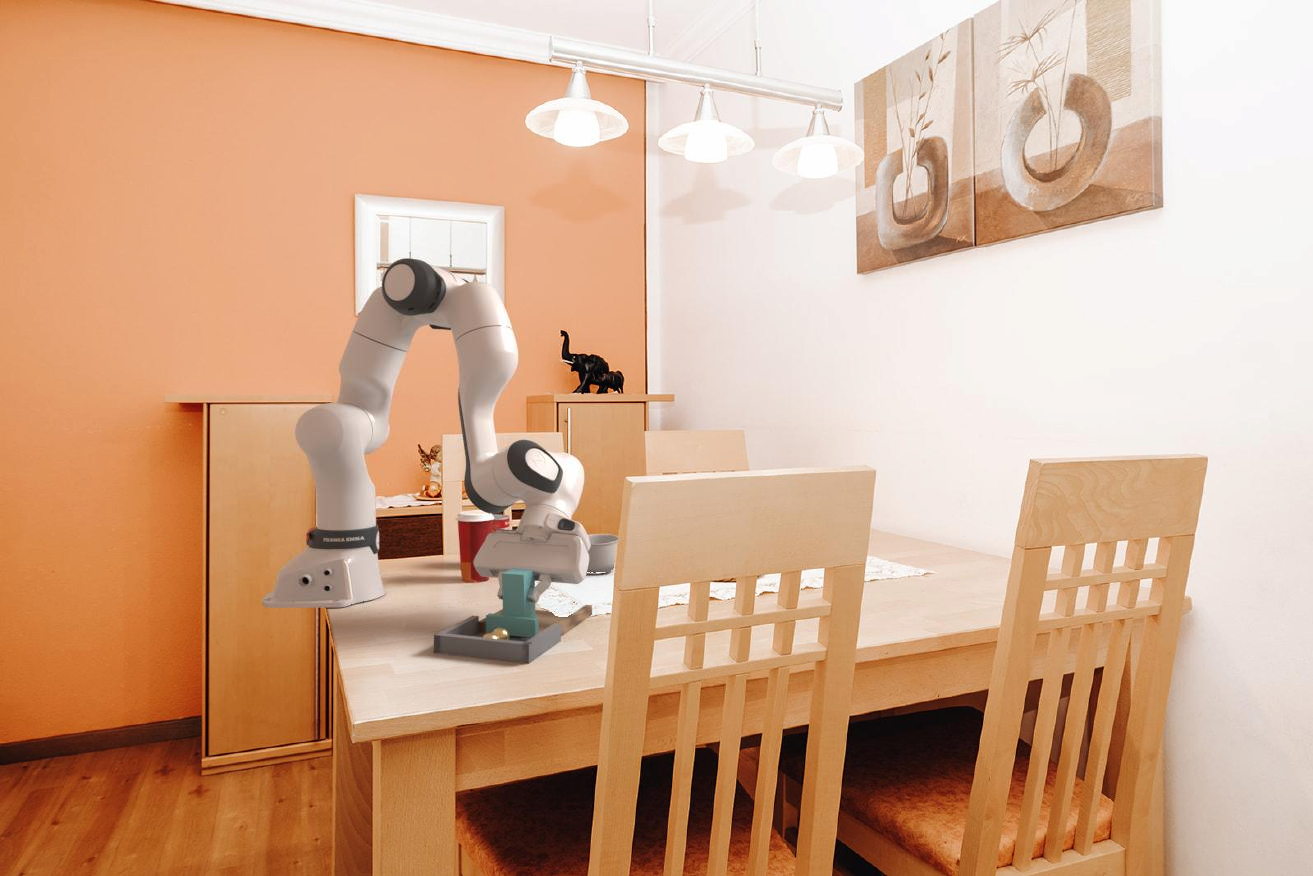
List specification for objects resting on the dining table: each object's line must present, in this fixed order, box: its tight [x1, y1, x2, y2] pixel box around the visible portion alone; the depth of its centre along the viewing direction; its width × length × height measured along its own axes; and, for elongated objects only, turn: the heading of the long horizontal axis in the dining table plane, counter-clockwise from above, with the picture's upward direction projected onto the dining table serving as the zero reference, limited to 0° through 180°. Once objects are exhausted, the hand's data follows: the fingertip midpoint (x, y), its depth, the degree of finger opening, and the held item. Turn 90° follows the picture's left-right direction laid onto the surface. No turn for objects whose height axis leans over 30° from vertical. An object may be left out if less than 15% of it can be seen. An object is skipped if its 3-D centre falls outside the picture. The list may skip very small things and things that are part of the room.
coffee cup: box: [455, 509, 494, 583], centre depth 171 cm, size 8×8×15 cm
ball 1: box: [483, 633, 499, 639], centre depth 121 cm, size 3×3×3 cm
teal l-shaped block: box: [485, 568, 539, 638], centre depth 129 cm, size 5×9×10 cm, turn 72°
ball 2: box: [492, 628, 510, 640], centre depth 124 cm, size 3×3×3 cm
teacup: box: [587, 533, 619, 573], centre depth 181 cm, size 14×11×8 cm
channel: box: [479, 604, 593, 639], centre depth 136 cm, size 17×14×2 cm
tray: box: [433, 615, 562, 665], centre depth 124 cm, size 12×16×3 cm
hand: (516, 599), depth 129 cm, fingers closed on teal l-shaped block, 4 cm apart
